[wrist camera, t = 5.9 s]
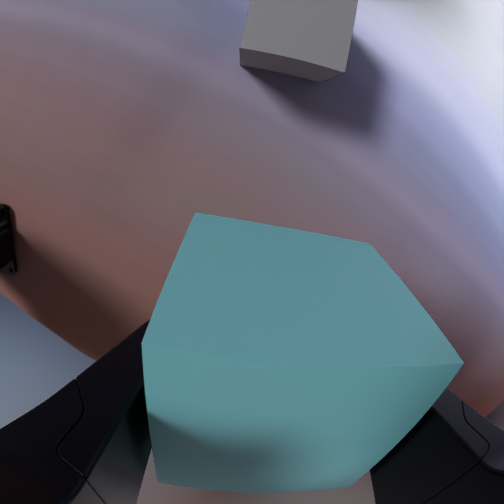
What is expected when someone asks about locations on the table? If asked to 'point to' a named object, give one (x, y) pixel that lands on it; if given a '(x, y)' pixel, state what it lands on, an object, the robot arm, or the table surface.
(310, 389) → the teal cube
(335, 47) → the gray cube
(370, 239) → the table surface
